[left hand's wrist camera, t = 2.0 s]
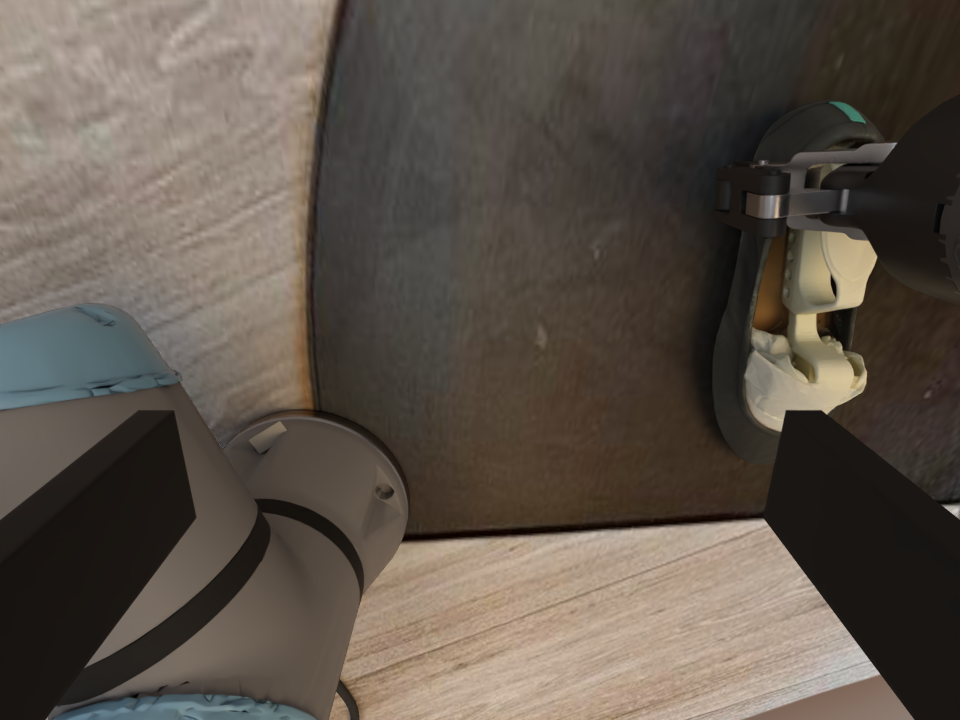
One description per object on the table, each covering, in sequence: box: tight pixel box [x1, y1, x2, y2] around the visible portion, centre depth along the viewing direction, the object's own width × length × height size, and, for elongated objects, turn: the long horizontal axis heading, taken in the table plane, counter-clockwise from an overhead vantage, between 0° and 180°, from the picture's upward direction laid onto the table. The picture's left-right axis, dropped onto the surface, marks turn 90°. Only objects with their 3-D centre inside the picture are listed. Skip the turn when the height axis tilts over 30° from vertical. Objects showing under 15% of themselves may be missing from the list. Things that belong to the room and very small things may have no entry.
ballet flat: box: [712, 100, 885, 464], centre depth 35 cm, size 8×24×8 cm, turn 6°
